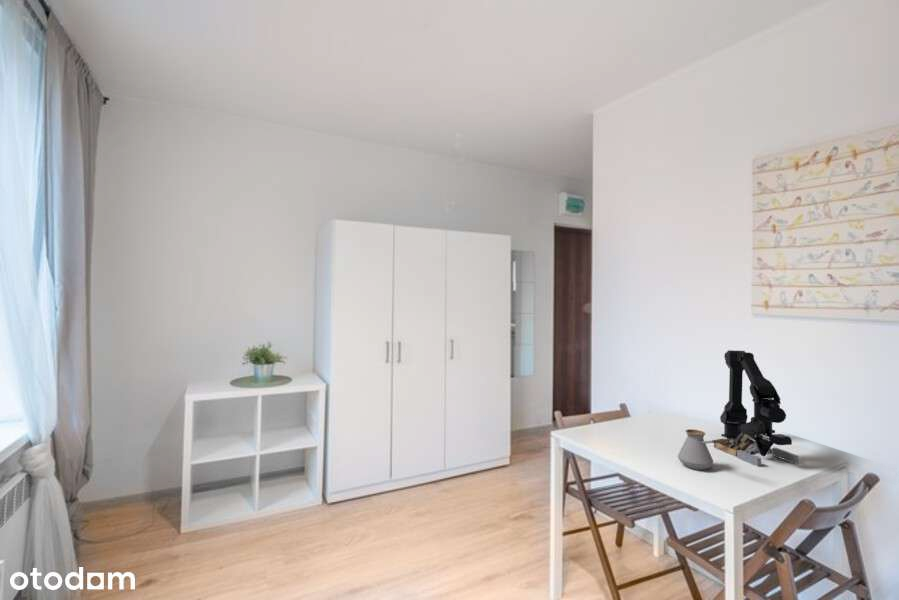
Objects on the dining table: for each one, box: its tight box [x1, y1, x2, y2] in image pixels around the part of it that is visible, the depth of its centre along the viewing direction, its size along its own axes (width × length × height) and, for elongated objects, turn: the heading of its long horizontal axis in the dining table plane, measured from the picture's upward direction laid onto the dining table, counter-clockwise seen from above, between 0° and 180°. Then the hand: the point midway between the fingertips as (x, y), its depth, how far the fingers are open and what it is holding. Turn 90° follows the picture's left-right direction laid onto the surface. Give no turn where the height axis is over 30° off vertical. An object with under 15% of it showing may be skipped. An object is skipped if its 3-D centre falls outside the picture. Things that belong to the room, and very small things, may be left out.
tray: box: [713, 441, 773, 458], centre depth 173 cm, size 11×17×2 cm, turn 100°
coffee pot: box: [677, 428, 737, 471], centre depth 152 cm, size 21×12×15 cm, turn 19°
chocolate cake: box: [728, 433, 758, 455], centre depth 173 cm, size 10×7×12 cm
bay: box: [736, 446, 799, 467], centre depth 163 cm, size 9×18×3 cm, turn 100°
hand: (763, 455), depth 164 cm, fingers closed
